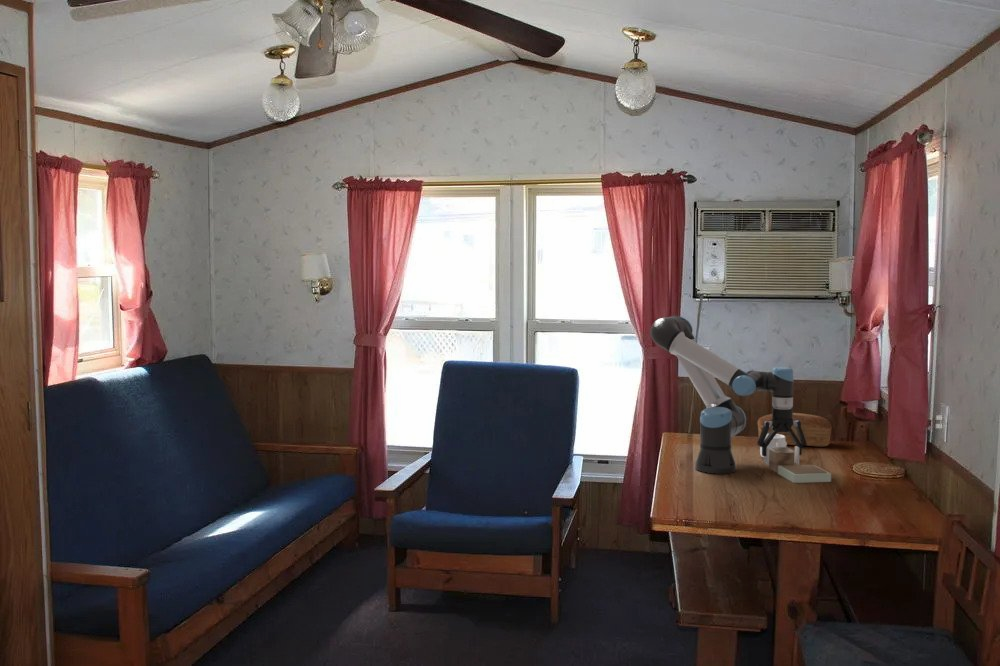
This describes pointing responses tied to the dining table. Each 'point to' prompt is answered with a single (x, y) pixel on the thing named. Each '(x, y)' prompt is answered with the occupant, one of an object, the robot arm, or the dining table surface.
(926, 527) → the dining table surface
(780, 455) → the block
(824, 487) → the dining table surface
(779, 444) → the mug
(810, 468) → the base
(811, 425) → the bread
